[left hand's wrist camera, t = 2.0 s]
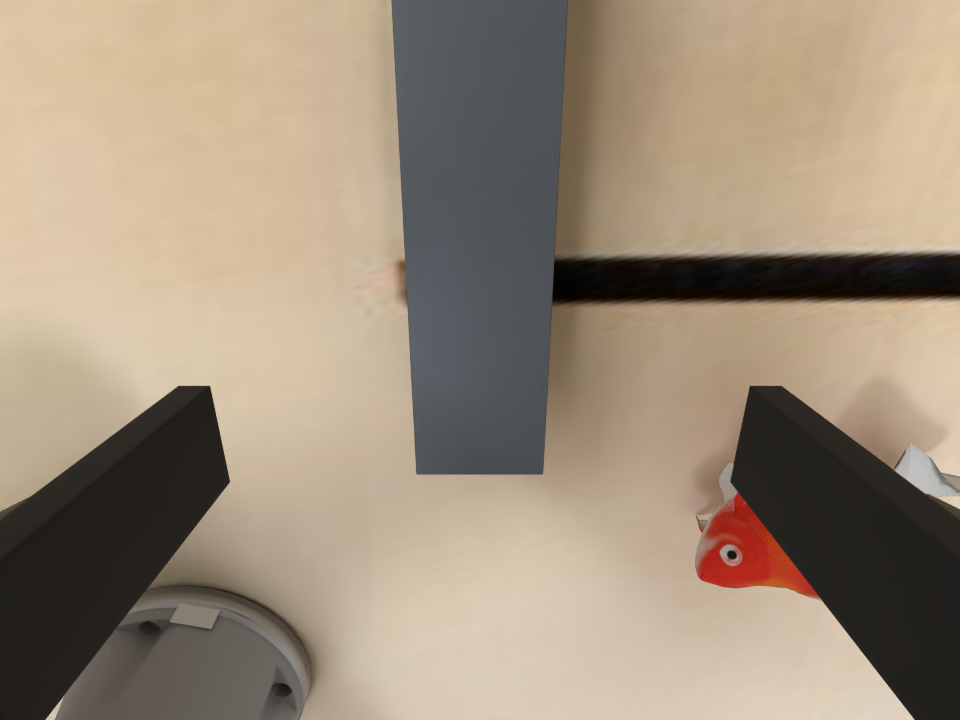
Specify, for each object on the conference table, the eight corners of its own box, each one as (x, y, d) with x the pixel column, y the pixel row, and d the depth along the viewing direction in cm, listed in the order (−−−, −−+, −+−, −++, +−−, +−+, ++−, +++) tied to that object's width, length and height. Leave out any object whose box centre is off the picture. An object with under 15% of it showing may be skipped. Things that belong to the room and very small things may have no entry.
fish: (715, 399, 24) (909, 601, 18) (899, 364, 31) (1091, 503, 24) (627, 522, 31) (744, 702, 25) (794, 472, 38) (921, 604, 31)
